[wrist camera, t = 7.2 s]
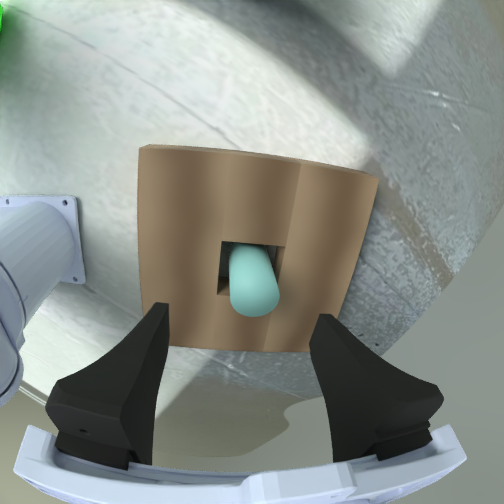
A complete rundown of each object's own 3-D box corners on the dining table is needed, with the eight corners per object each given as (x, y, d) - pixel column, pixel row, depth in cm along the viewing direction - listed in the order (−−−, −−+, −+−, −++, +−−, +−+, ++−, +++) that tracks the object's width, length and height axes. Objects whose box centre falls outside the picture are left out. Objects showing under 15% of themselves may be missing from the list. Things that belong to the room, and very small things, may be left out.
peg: (228, 270, 23) (230, 317, 18) (228, 235, 22) (230, 276, 16) (265, 269, 23) (277, 316, 18) (268, 235, 22) (281, 276, 17)
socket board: (151, 324, 25) (146, 342, 23) (149, 144, 18) (139, 148, 16) (317, 334, 27) (324, 351, 25) (364, 171, 20) (379, 178, 18)
